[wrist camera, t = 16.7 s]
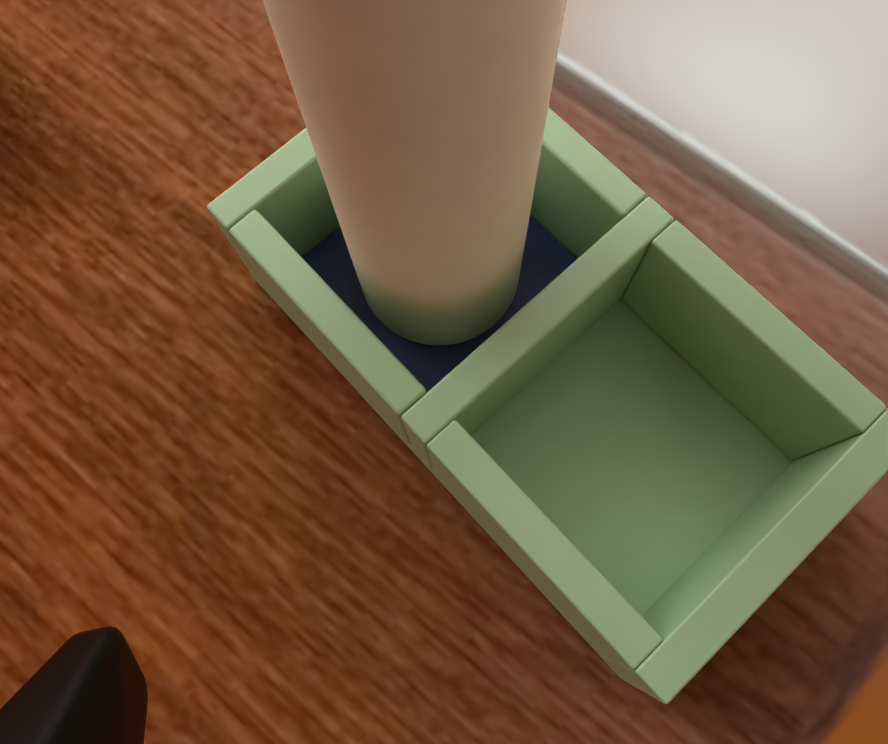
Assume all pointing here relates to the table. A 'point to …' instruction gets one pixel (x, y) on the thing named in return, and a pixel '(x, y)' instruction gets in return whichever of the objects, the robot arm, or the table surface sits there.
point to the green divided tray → (597, 405)
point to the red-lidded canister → (426, 145)
